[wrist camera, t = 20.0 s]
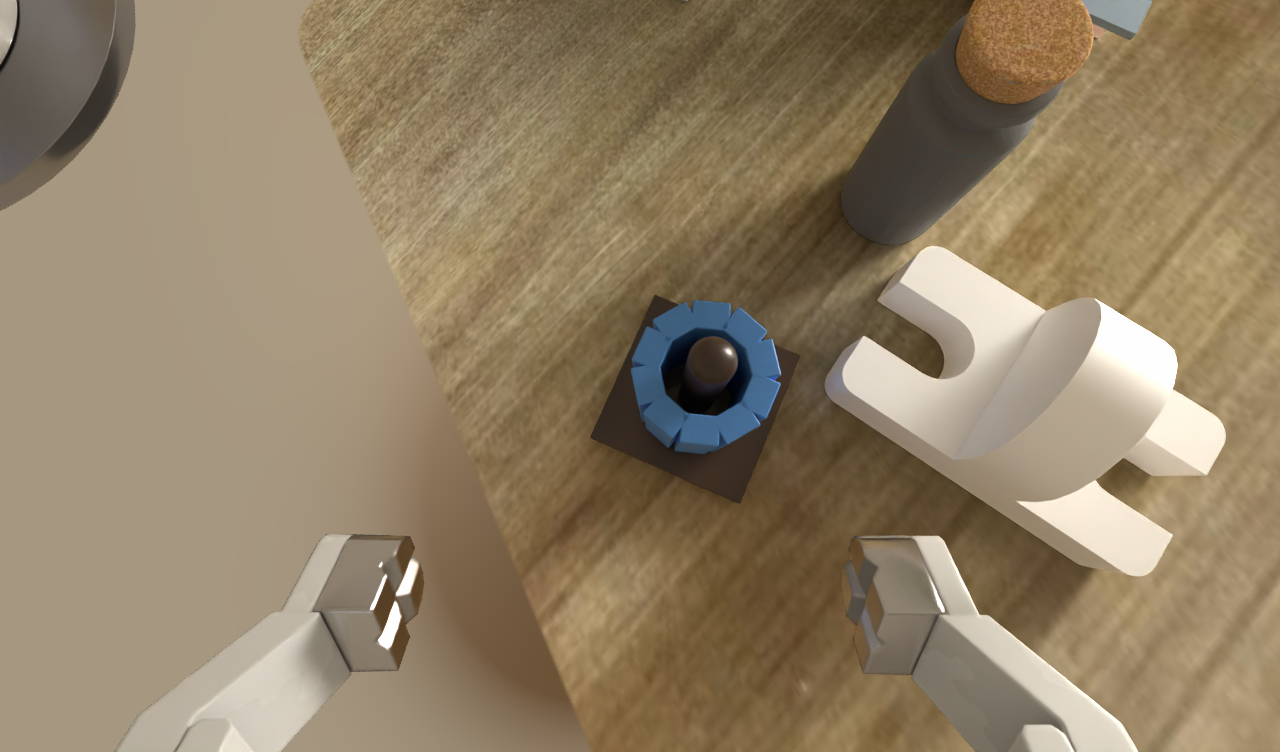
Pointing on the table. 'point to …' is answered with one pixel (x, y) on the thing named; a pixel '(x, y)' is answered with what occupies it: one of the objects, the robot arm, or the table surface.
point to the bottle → (963, 113)
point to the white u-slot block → (1032, 407)
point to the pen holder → (671, 349)
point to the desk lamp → (1117, 16)
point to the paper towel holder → (695, 392)
